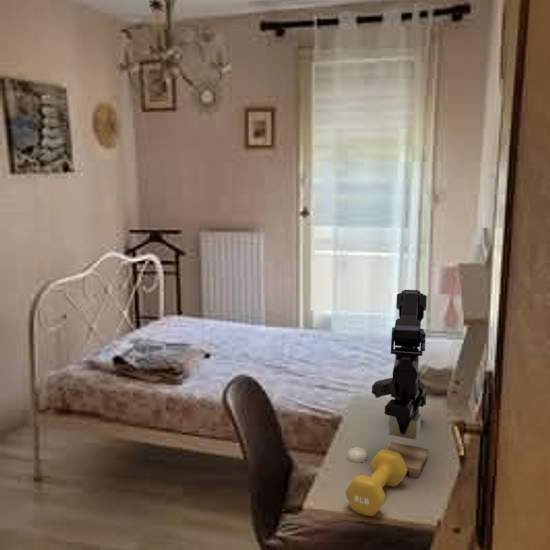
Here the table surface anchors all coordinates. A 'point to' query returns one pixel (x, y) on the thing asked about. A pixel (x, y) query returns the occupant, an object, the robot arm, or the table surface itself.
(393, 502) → the table surface
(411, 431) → the housing
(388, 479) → the dumbbell
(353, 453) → the cream rounded piece
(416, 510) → the table surface
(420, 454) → the tan flat board
